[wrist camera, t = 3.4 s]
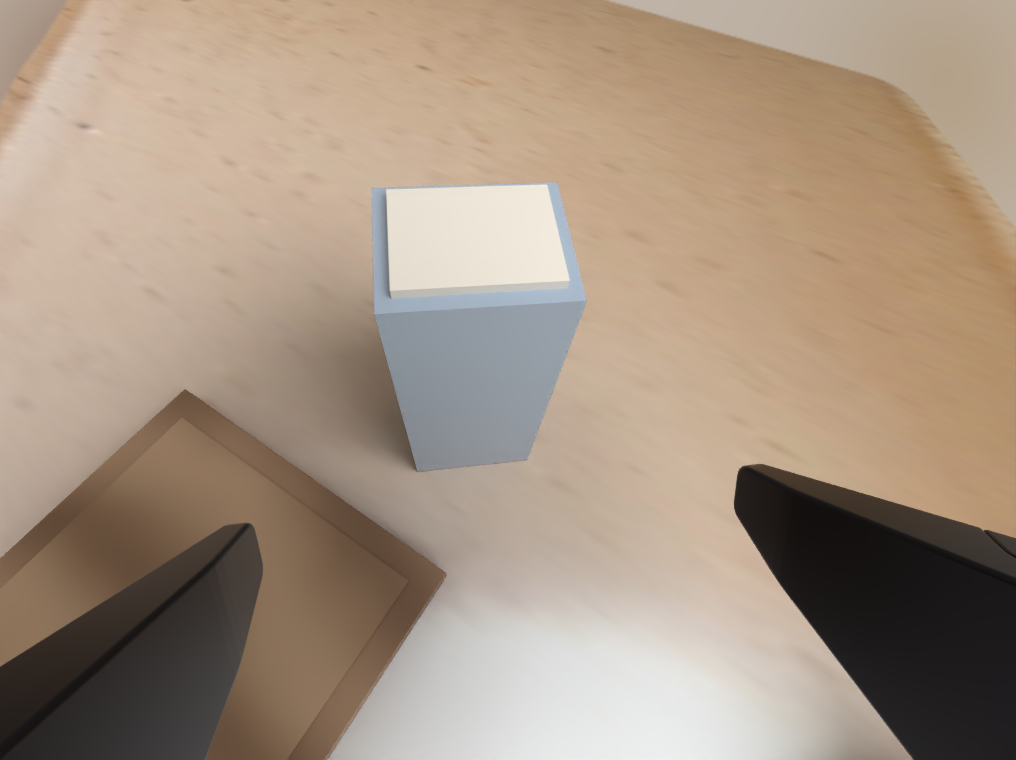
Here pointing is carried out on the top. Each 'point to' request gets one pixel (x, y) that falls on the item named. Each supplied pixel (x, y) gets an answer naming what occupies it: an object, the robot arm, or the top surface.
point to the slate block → (474, 314)
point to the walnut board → (284, 586)
